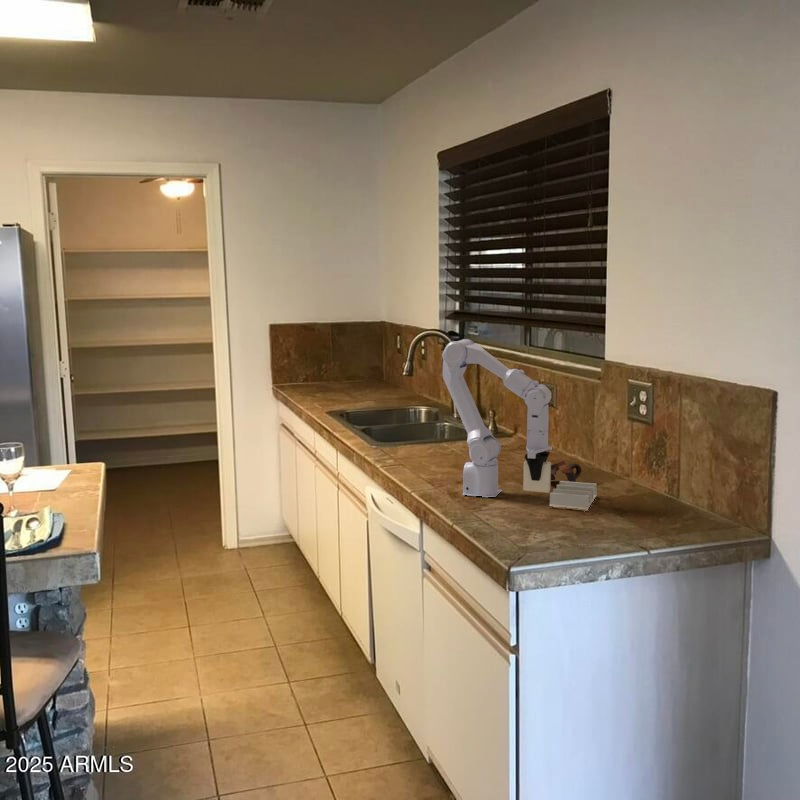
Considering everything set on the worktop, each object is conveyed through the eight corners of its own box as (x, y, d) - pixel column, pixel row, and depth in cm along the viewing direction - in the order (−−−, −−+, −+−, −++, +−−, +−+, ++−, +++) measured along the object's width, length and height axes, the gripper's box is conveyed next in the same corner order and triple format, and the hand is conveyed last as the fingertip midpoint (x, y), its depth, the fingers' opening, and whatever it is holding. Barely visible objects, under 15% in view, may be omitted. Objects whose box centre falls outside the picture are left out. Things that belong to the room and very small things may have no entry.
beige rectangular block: (523, 490, 237) (523, 461, 236) (525, 488, 239) (525, 460, 238) (548, 492, 235) (549, 463, 234) (550, 490, 237) (550, 462, 236)
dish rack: (549, 508, 229) (549, 493, 228) (560, 494, 242) (560, 480, 242) (587, 511, 225) (587, 496, 224) (596, 497, 239) (596, 483, 238)
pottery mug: (559, 492, 246) (546, 466, 248) (545, 499, 255) (533, 474, 257) (592, 477, 251) (580, 452, 252) (578, 485, 259) (566, 460, 261)
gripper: (546, 436, 226) (545, 486, 228) (557, 426, 240) (556, 474, 242) (520, 434, 229) (519, 484, 231) (532, 424, 242) (531, 472, 244)
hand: (536, 479), depth 237 cm, fingers closed on beige rectangular block, 2 cm apart
